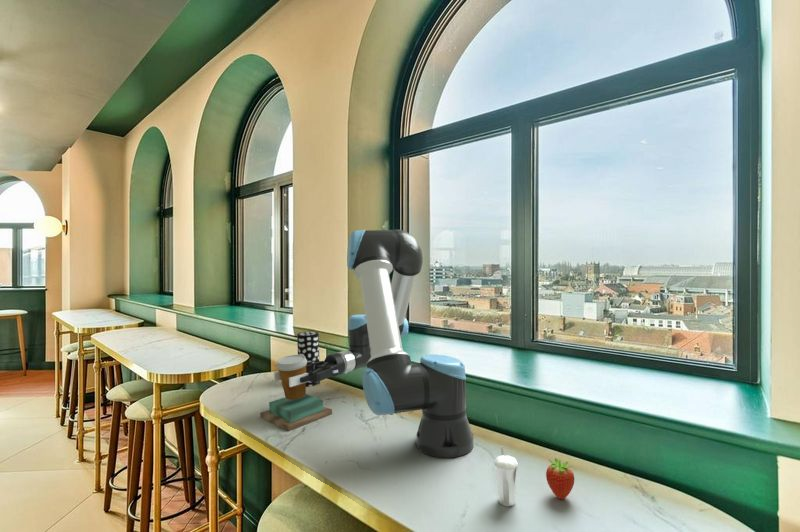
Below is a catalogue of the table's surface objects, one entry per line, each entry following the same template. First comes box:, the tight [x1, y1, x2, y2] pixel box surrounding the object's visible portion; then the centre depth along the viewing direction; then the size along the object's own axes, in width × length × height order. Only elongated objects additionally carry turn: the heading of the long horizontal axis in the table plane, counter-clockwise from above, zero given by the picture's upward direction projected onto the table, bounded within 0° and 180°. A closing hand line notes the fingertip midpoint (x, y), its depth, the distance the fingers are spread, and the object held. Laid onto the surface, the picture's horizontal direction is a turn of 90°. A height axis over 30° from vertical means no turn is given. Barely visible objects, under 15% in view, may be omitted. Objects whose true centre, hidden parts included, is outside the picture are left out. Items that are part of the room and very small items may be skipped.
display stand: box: [260, 393, 333, 432], centre depth 130 cm, size 16×16×5 cm
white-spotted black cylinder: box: [296, 331, 321, 388], centre depth 162 cm, size 8×8×20 cm
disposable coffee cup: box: [276, 354, 307, 400], centre depth 129 cm, size 10×10×12 cm
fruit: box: [545, 457, 575, 500], centre depth 83 cm, size 5×5×8 cm
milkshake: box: [494, 445, 519, 507], centre depth 83 cm, size 4×5×10 cm
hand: (281, 379), depth 126 cm, fingers closed on disposable coffee cup, 8 cm apart
